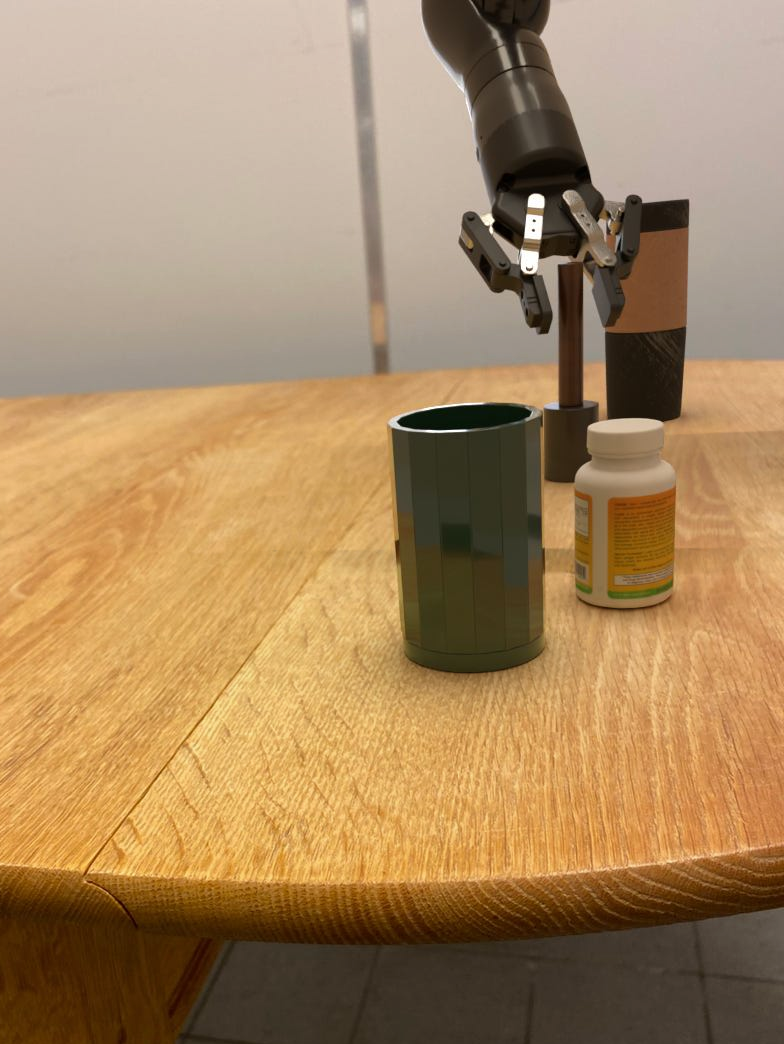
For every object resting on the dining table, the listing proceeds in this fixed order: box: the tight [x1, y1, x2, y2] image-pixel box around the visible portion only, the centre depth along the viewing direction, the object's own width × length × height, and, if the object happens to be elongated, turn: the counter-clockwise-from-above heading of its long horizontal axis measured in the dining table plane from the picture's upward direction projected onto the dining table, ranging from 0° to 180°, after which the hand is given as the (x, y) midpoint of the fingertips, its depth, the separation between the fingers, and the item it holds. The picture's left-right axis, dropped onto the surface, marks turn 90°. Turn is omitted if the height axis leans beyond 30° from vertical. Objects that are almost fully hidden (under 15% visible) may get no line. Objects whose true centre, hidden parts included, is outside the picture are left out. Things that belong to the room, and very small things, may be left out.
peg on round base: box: [542, 261, 600, 484], centre depth 78 cm, size 4×4×17 cm
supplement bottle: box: [573, 418, 677, 609], centre depth 59 cm, size 5×5×10 cm
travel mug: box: [604, 198, 690, 422], centre depth 104 cm, size 8×8×20 cm
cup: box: [386, 401, 547, 673], centre depth 54 cm, size 7×7×12 cm
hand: (579, 322), depth 75 cm, fingers open, 4 cm apart
